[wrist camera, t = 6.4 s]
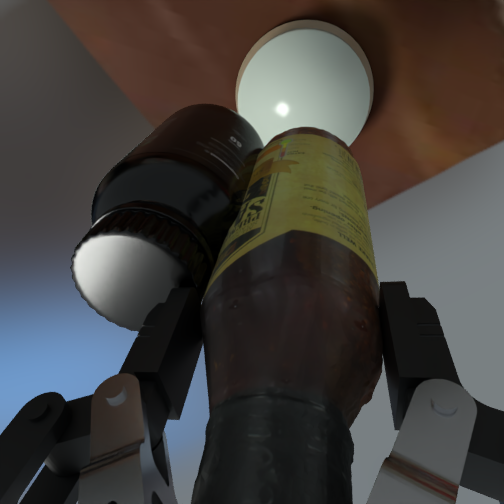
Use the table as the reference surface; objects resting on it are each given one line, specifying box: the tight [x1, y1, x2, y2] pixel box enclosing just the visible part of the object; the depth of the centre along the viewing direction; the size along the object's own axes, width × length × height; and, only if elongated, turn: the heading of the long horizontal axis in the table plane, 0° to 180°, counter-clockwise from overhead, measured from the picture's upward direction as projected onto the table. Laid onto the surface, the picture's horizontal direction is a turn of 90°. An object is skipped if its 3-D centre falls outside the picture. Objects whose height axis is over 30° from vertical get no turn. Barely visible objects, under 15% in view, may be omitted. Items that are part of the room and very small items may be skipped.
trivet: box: [236, 19, 374, 147], centre depth 34 cm, size 12×12×2 cm
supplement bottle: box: [70, 104, 264, 332], centre depth 19 cm, size 7×7×12 cm
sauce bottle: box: [191, 127, 383, 504], centre depth 15 cm, size 6×6×20 cm
